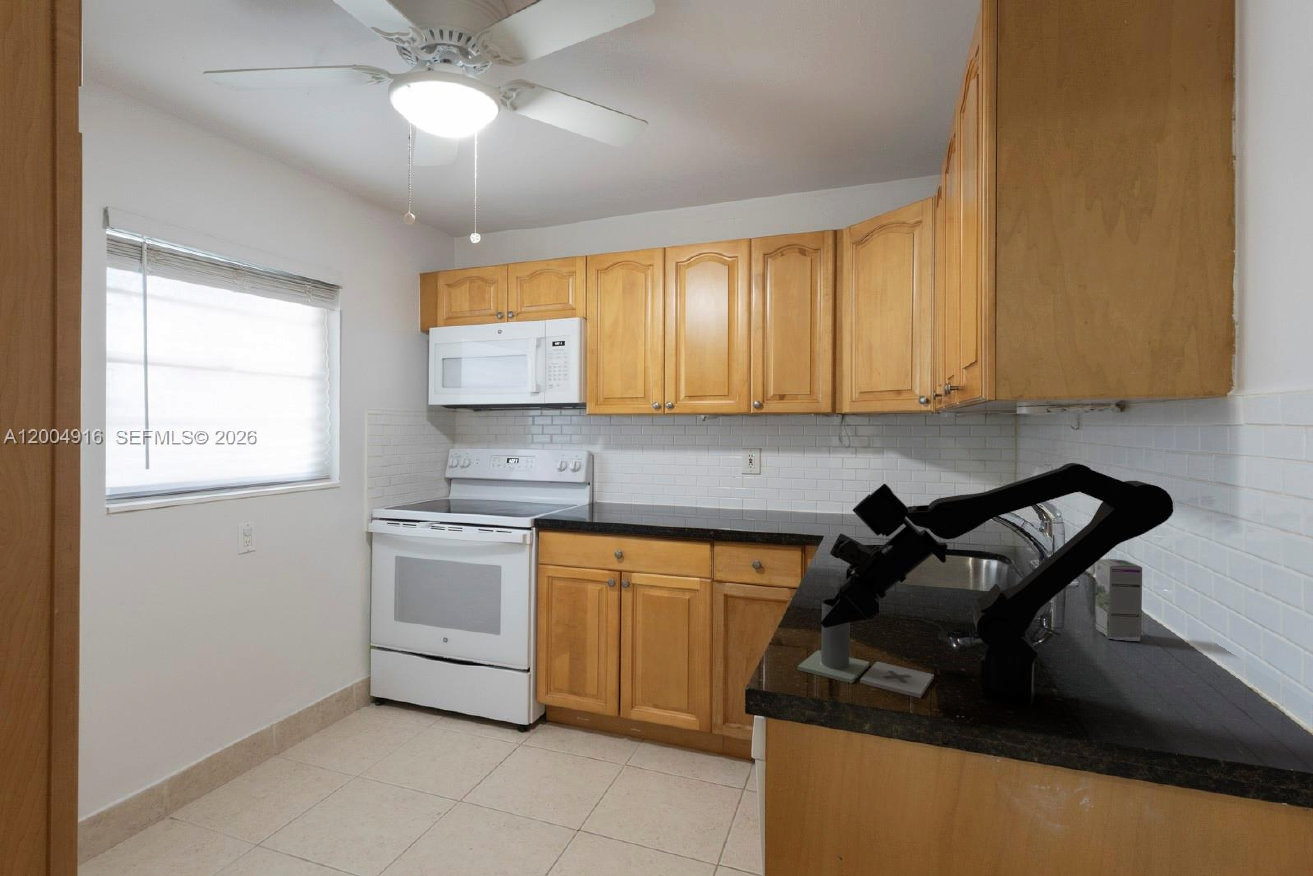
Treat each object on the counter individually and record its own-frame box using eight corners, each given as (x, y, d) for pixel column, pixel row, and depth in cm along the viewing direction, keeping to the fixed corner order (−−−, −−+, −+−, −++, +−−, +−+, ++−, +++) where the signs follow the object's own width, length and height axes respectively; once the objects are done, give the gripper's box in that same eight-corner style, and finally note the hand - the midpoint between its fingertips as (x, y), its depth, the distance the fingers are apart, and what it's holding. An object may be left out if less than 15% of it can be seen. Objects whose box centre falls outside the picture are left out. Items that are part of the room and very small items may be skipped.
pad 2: (933, 678, 101) (933, 673, 101) (920, 698, 94) (920, 693, 94) (876, 665, 106) (876, 660, 106) (860, 683, 99) (860, 678, 99)
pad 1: (869, 665, 106) (869, 661, 106) (851, 683, 99) (851, 679, 99) (817, 653, 111) (817, 649, 111) (797, 669, 104) (797, 665, 104)
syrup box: (1142, 642, 118) (1145, 566, 118) (1107, 640, 120) (1109, 564, 119) (1126, 632, 124) (1128, 559, 124) (1092, 630, 125) (1095, 558, 125)
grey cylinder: (831, 656, 108) (832, 597, 108) (854, 664, 105) (855, 603, 104) (815, 662, 105) (816, 601, 105) (838, 671, 102) (840, 608, 102)
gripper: (864, 512, 112) (800, 567, 116) (857, 529, 94) (782, 593, 99) (911, 560, 109) (844, 615, 113) (912, 586, 92) (833, 650, 96)
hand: (826, 617), depth 105 cm, fingers open, 9 cm apart
